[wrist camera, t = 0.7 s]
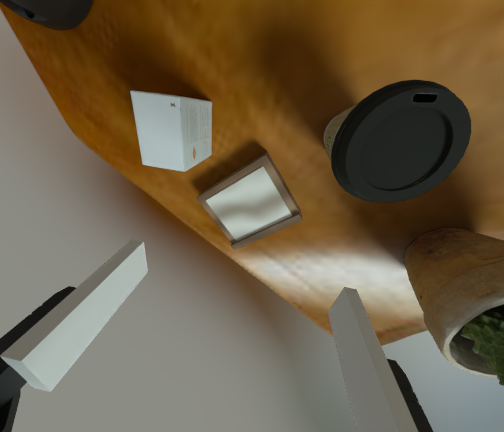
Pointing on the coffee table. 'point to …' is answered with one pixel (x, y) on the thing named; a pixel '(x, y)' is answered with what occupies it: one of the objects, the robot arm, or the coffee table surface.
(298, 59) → the coffee table surface
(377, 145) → the coffee cup
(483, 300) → the potted plant
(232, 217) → the tray
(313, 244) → the coffee table surface
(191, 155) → the small box
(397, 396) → the robot arm
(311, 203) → the coffee table surface
